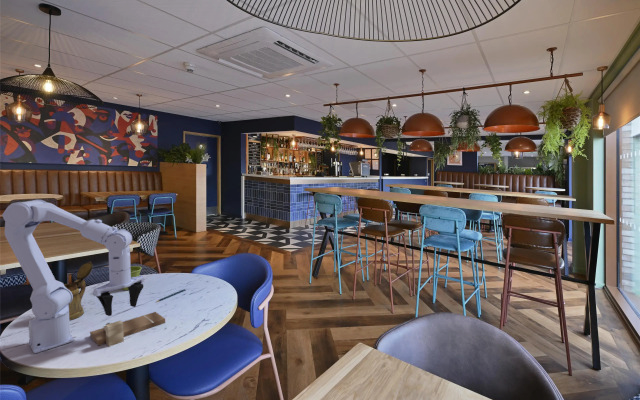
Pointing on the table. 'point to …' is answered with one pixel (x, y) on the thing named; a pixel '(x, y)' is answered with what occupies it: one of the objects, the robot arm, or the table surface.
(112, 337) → the marking gauge
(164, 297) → the pencil
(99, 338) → the walnut board
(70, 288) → the wooden mug
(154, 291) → the table surface
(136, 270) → the plant pot
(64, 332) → the robot arm
